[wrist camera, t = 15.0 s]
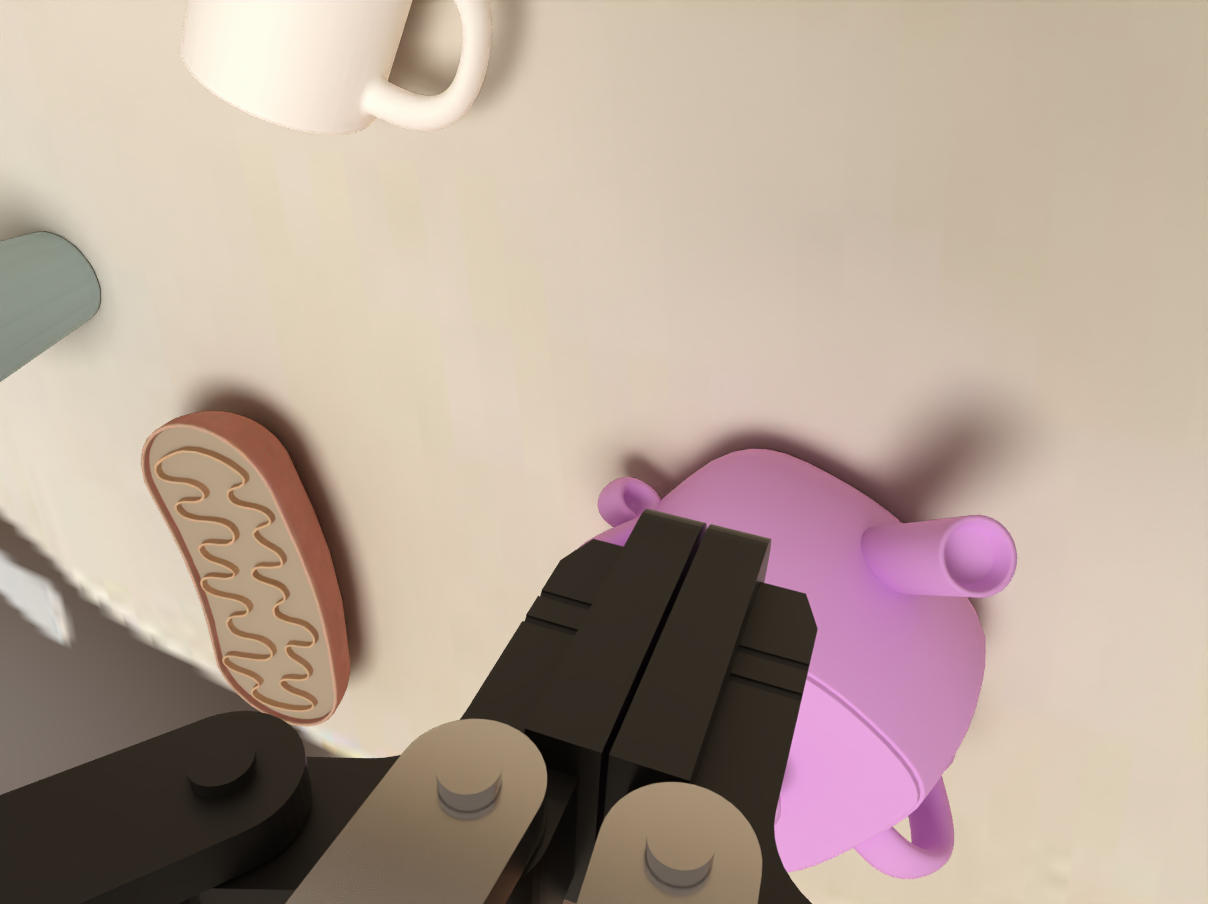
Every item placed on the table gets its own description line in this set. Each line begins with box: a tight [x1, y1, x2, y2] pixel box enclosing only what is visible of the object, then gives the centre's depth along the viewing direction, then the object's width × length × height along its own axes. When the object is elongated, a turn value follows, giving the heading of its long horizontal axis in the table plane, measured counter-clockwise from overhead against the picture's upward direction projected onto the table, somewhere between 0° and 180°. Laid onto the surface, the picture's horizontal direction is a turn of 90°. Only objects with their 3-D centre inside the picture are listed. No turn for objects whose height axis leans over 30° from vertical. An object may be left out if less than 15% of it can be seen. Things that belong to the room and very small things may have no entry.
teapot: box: [579, 449, 1017, 879], centre depth 43 cm, size 19×21×14 cm
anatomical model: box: [141, 411, 350, 726], centre depth 58 cm, size 23×10×5 cm, turn 7°
